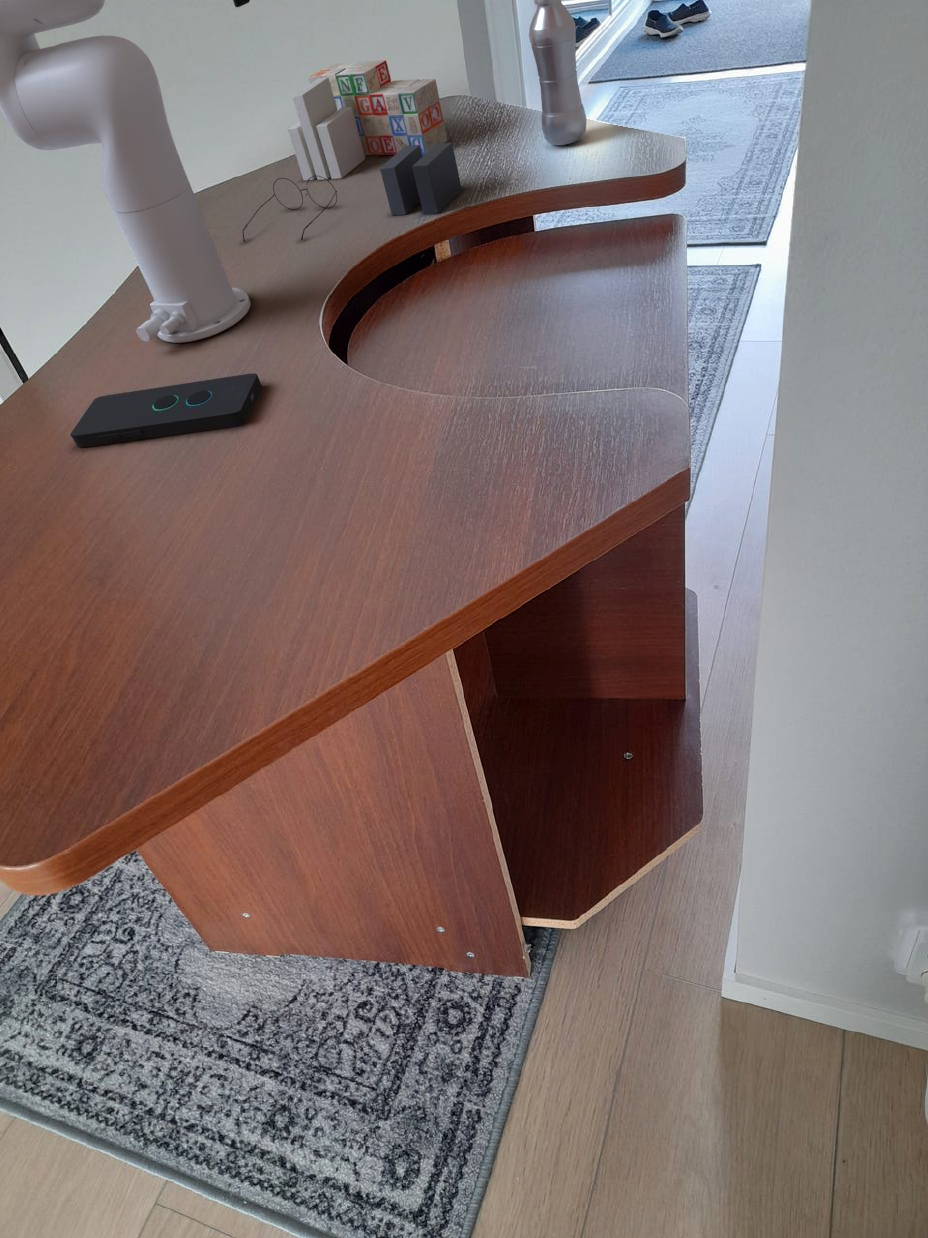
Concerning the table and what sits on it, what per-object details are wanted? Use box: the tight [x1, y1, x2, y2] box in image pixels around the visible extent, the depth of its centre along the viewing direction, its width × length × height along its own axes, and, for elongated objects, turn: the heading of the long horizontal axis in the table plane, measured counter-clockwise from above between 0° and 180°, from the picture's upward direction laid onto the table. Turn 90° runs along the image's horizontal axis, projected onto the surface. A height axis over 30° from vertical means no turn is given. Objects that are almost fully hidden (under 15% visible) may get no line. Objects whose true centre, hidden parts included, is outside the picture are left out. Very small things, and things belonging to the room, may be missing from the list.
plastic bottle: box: [528, 0, 588, 146], centre depth 128 cm, size 6×7×20 cm
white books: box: [287, 107, 366, 181], centre depth 146 cm, size 8×8×8 cm
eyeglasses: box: [242, 176, 338, 243], centre depth 132 cm, size 11×13×5 cm
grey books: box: [379, 141, 463, 216], centre depth 127 cm, size 8×8×6 cm
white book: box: [291, 77, 337, 181], centre depth 144 cm, size 8×2×12 cm, turn 155°
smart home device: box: [70, 373, 263, 448], centre depth 98 cm, size 8×2×20 cm
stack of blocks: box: [307, 59, 448, 156], centre depth 147 cm, size 21×6×12 cm, turn 55°
